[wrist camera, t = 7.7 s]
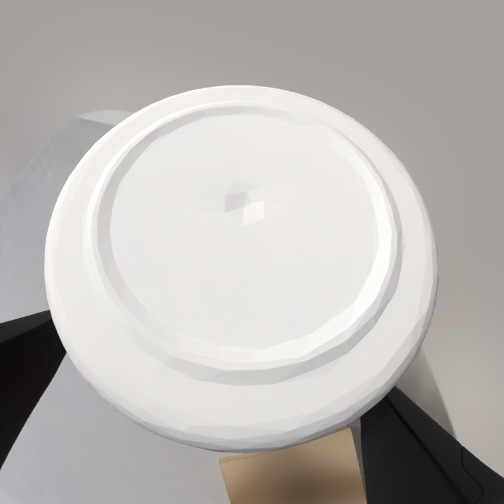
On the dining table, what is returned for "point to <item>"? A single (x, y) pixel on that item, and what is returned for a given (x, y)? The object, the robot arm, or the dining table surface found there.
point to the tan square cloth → (297, 473)
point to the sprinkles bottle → (241, 268)
